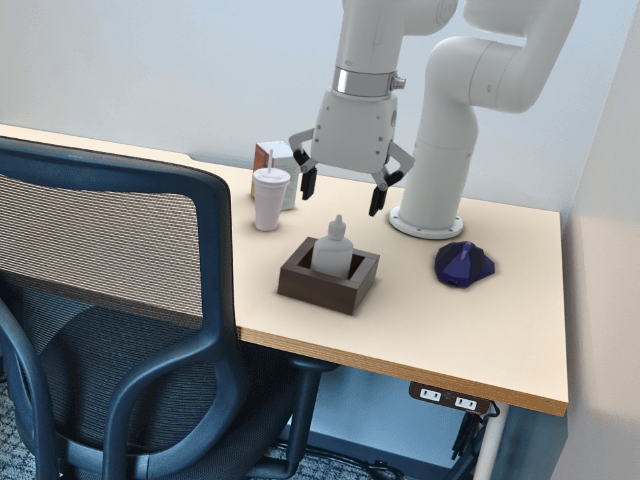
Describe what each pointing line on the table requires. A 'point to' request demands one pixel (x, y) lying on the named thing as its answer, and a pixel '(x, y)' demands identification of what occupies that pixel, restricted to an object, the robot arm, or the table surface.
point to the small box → (278, 167)
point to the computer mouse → (462, 264)
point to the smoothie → (269, 195)
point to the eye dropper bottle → (333, 251)
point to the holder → (327, 279)
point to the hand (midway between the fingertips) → (340, 204)
